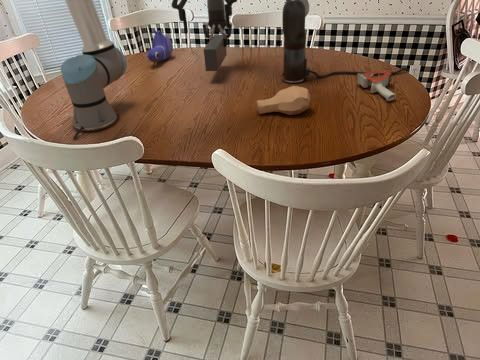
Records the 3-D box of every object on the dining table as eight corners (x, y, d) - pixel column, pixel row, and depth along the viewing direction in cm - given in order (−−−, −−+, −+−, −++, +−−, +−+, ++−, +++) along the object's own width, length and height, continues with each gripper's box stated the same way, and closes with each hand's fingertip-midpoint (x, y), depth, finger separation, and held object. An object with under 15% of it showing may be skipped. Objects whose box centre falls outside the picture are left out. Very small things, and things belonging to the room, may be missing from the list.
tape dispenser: (391, 107, 134) (404, 85, 146) (394, 94, 130) (407, 73, 143) (345, 96, 141) (361, 77, 154) (348, 84, 138) (364, 65, 150)
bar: (217, 71, 156) (215, 49, 150) (205, 71, 156) (203, 49, 151) (226, 54, 174) (225, 34, 168) (216, 54, 175) (214, 34, 169)
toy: (161, 62, 200) (141, 68, 178) (157, 30, 193) (135, 32, 171) (177, 61, 198) (159, 67, 176) (173, 29, 191) (154, 30, 169)
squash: (314, 116, 128) (313, 95, 122) (259, 125, 130) (256, 105, 124) (308, 99, 136) (307, 78, 129) (257, 108, 138) (253, 88, 131)
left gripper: (238, -53, 107) (241, 22, 119) (154, -47, 102) (167, 31, 115) (244, -52, 101) (247, 27, 113) (156, -45, 96) (169, 36, 109)
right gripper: (233, 5, 160) (235, 44, 170) (202, 6, 162) (206, 44, 172) (230, 9, 154) (232, 49, 164) (198, 9, 156) (202, 49, 167)
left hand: (207, 29), depth 114 cm, fingers open, 13 cm apart
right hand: (219, 46), depth 168 cm, fingers closed on bar, 5 cm apart
